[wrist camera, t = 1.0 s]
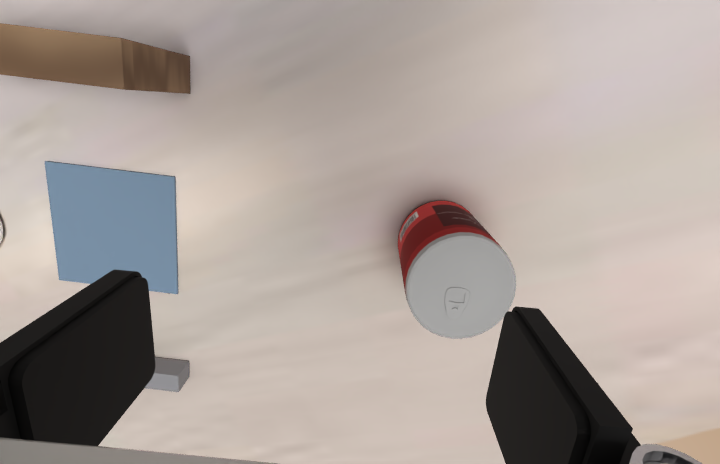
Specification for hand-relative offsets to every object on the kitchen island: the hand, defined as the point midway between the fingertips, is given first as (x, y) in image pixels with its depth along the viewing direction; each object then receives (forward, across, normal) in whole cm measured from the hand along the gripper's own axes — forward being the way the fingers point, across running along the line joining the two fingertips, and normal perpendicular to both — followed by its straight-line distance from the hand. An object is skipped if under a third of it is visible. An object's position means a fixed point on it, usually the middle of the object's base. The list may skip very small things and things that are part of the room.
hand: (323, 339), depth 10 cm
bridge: (+27, +23, -7) cm, 36 cm away
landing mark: (+27, +23, +8) cm, 37 cm away
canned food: (+28, -8, +6) cm, 29 cm away
